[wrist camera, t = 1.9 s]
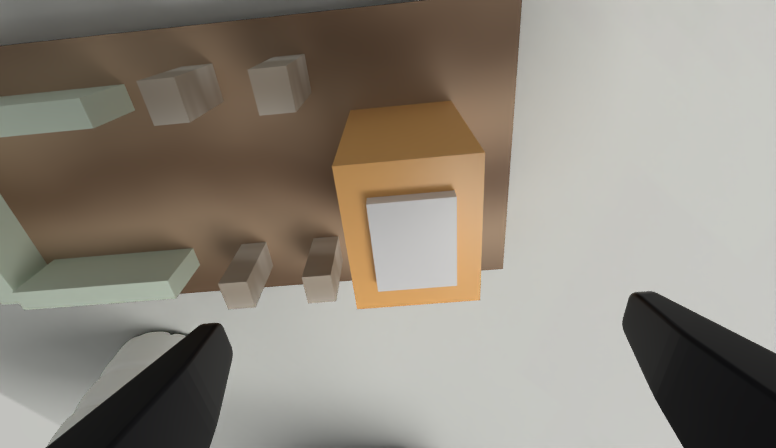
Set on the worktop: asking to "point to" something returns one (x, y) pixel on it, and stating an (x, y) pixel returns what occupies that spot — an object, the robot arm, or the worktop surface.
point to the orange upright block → (411, 204)
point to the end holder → (84, 274)
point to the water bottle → (121, 372)
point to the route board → (250, 135)
